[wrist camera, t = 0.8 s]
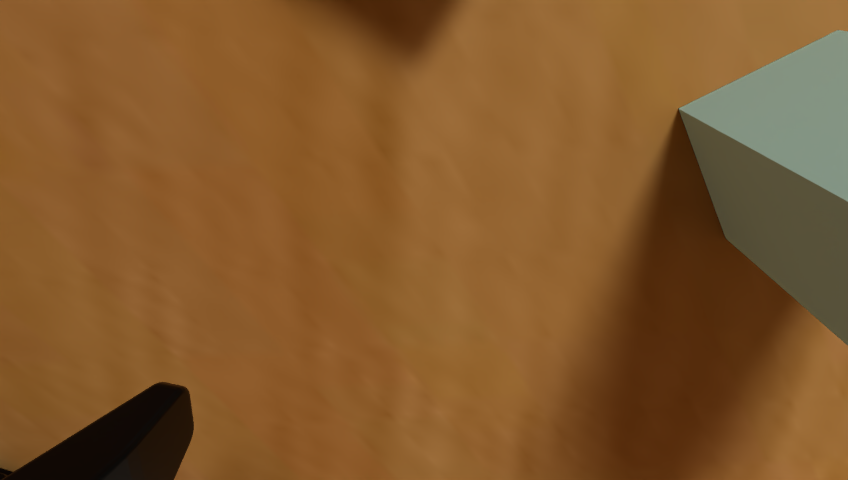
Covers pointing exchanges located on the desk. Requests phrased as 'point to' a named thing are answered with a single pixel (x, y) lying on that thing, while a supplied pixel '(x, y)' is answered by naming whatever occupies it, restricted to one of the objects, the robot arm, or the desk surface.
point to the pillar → (784, 171)
